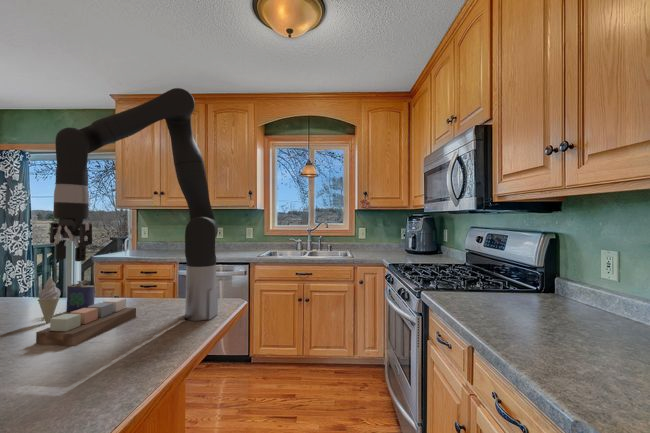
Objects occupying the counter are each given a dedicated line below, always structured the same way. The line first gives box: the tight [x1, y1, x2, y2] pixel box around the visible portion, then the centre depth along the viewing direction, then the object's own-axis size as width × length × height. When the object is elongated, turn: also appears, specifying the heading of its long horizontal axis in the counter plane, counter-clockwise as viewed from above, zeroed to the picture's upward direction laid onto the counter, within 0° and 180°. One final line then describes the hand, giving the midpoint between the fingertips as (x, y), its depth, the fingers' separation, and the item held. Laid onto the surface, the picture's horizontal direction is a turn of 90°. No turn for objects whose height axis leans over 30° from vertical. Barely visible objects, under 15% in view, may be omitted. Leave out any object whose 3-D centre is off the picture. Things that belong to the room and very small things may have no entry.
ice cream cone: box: [37, 275, 61, 324], centre depth 92 cm, size 5×5×15 cm
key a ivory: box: [102, 297, 127, 312], centre depth 95 cm, size 4×4×3 cm
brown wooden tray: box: [34, 306, 139, 348], centre depth 87 cm, size 11×23×4 cm, turn 175°
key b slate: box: [88, 302, 113, 318], centre depth 90 cm, size 4×4×3 cm
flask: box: [65, 280, 96, 313], centre depth 106 cm, size 9×3×11 cm, turn 88°
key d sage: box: [49, 313, 81, 332], centre depth 79 cm, size 4×4×3 cm
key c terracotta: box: [69, 308, 98, 324], centre depth 84 cm, size 4×4×3 cm
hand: (70, 260), depth 86 cm, fingers open, 8 cm apart
